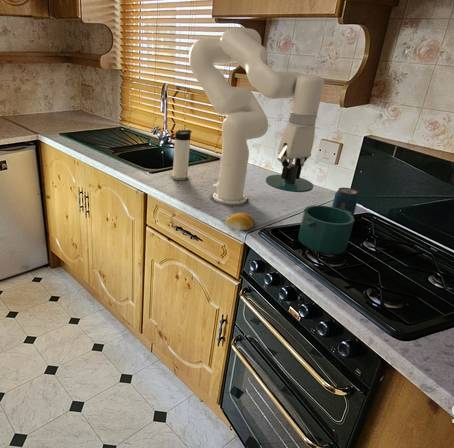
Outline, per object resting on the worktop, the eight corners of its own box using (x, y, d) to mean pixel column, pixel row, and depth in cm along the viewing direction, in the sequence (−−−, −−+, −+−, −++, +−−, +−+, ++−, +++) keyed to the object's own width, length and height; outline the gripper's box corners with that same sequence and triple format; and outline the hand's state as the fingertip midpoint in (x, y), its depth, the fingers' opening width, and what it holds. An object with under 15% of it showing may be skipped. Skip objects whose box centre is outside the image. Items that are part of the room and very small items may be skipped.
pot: (282, 240, 122) (287, 211, 118) (324, 228, 131) (331, 201, 127) (318, 260, 111) (326, 229, 107) (361, 246, 120) (370, 217, 116)
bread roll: (257, 224, 131) (258, 213, 129) (245, 234, 124) (247, 222, 122) (234, 217, 135) (235, 206, 133) (221, 226, 128) (222, 214, 127)
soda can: (344, 220, 138) (353, 187, 132) (354, 229, 131) (363, 194, 126) (324, 219, 137) (332, 186, 132) (333, 228, 131) (342, 194, 126)
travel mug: (190, 179, 169) (194, 132, 160) (175, 180, 167) (179, 132, 158) (184, 175, 174) (188, 128, 165) (170, 176, 172) (173, 129, 163)
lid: (255, 181, 130) (259, 161, 127) (288, 175, 137) (291, 156, 134) (289, 197, 119) (293, 175, 116) (322, 190, 126) (327, 169, 123)
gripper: (311, 115, 126) (299, 171, 134) (272, 118, 118) (262, 177, 126) (331, 120, 120) (317, 179, 128) (292, 124, 112) (279, 185, 120)
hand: (290, 177), depth 127 cm, fingers closed on lid, 3 cm apart
